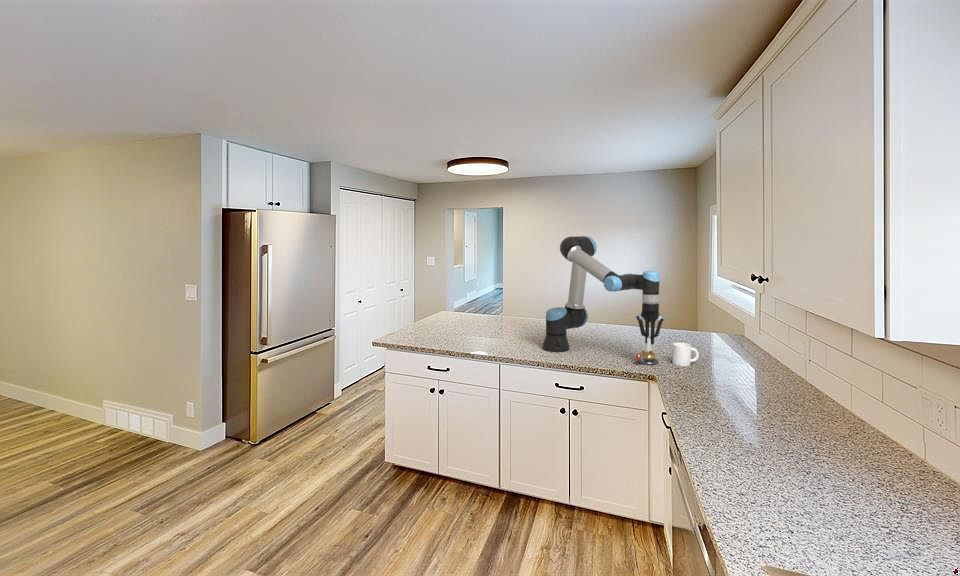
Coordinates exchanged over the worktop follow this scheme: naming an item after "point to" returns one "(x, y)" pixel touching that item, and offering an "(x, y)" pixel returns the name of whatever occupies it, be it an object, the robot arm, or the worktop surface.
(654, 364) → the base plate
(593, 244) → the robot arm
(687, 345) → the mug
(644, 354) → the gold rounded piece
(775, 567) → the worktop surface
